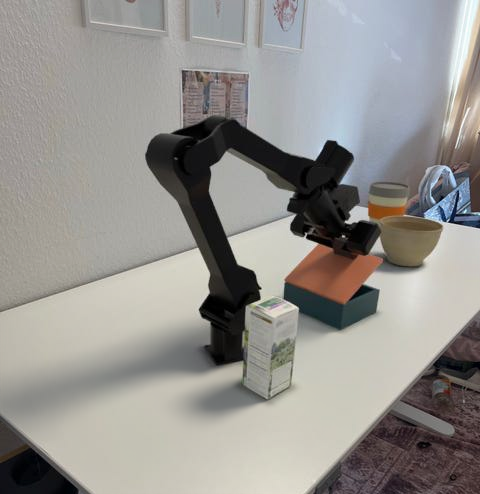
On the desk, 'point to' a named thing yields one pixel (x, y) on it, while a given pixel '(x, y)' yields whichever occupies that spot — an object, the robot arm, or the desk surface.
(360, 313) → the box
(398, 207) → the reusable coffee cup
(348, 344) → the desk surface
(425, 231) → the planter bowl
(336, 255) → the lid
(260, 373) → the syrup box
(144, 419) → the desk surface
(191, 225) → the robot arm
